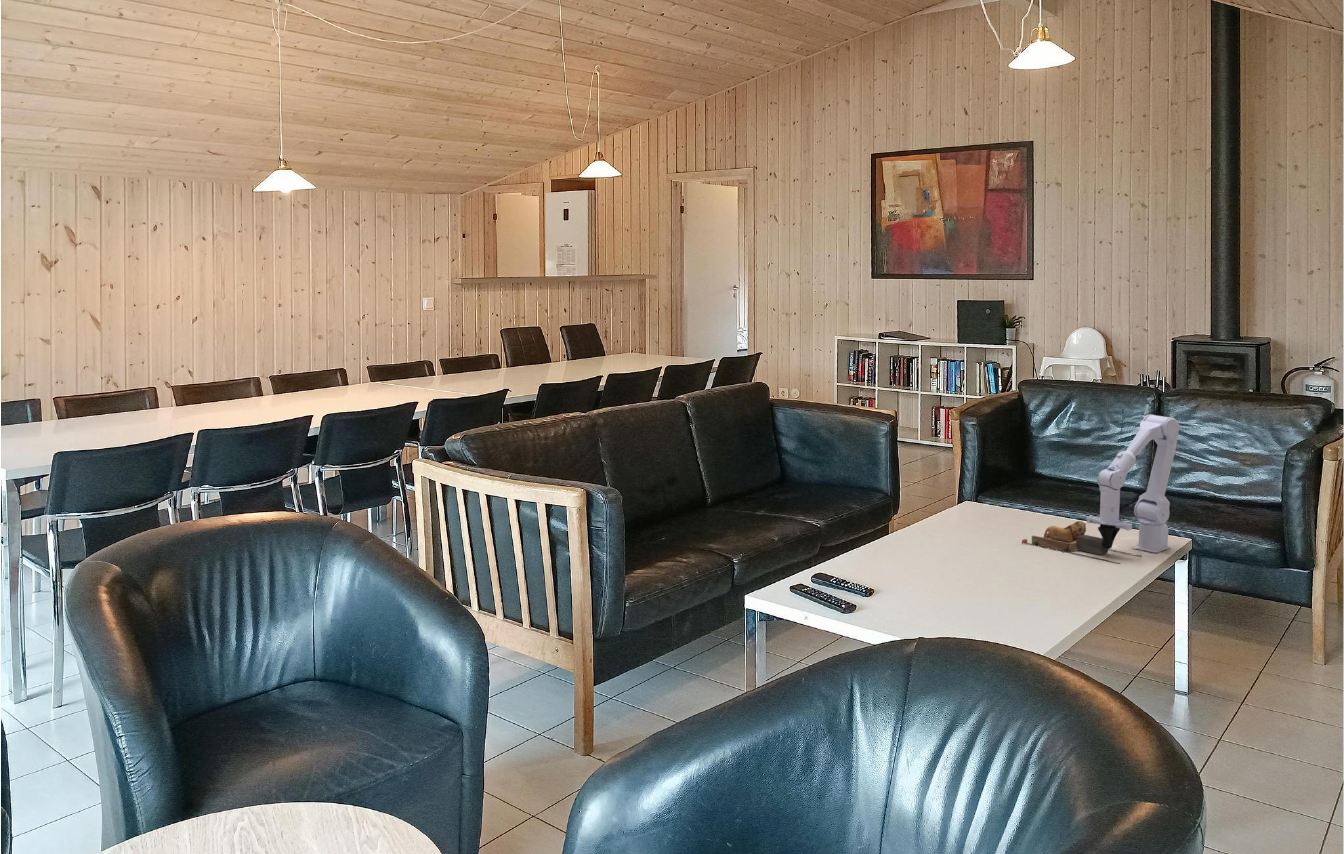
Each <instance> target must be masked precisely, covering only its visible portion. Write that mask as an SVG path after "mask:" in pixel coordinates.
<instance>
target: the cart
mask: <svg viewBox="0 0 1344 854" xmlns="http://www.w3.org/2000/svg"><path fill="white" fill-rule="evenodd" d="M1043 537H1044V536H1043ZM1043 537H1042V536H1039V535H1038V536H1037V535H1032V536H1031V544H1035V545H1040V546H1045V547H1049V548H1054V549H1059V550H1063V551H1068V552H1075V551H1082V552H1086V553H1089V554H1090V553H1091V554H1096V555H1105V554H1108V553H1109V550H1108V549H1106V548H1105V545H1104V541H1103V538H1102V537H1098V536H1093V535H1087V534H1083V535H1080V536H1076V540H1074V542H1071V543H1069V539H1061V538H1059V537H1057V536H1056V535H1055V536H1054V539H1050V538H1049V539H1048V538H1043ZM1057 539H1058V540H1057ZM1066 541H1067V542H1066Z"/></svg>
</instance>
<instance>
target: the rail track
mask: <svg viewBox="0 0 1344 854" xmlns="http://www.w3.org/2000/svg"><path fill="white" fill-rule="evenodd" d="M1047 535H1048V532H1047V534H1046V536H1047ZM1046 536H1045V537H1046ZM1056 540H1057V541H1059V540H1058V539H1056ZM1065 542H1067V541H1065ZM1023 543H1024V544H1025V545H1030V546H1033V547H1038V546H1039V548H1043V549H1047V548H1049V549H1048V550H1053V551H1056V550H1057V551H1058V552H1062V553H1066V554H1070V555H1075V556H1080V557H1084V558H1089V559H1094V560H1099V561H1102V562H1107V563H1113V564H1117V565H1119V564H1121V562H1118V561H1113V560H1110V559H1108V560H1107V559H1104V558H1100V557H1096V556H1091V555H1085V554H1081V553H1077V552H1074V551H1072V552H1068V551H1064V550H1059V549H1055V548H1050V547H1045V546H1041V545H1035V544H1032V542H1031V543H1030V542H1028V539H1026V538H1024V539H1022V540H1021V544H1023ZM1067 543H1068V542H1067ZM1024 544H1023V545H1024ZM1110 550H1111V552H1115V553H1119V552H1121V553H1120V554H1124V555H1129V554H1132V553H1130V552H1127V551H1126V552H1125V551H1121V550H1116V549H1112V548H1110V549H1108V551H1110ZM1138 556H1142V555H1141V554H1140V555H1139V554H1136V556H1135V557H1138Z"/></svg>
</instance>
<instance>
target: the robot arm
mask: <svg viewBox="0 0 1344 854" xmlns="http://www.w3.org/2000/svg"><path fill="white" fill-rule="evenodd" d="M1180 427H1181V425H1180V424H1179V422H1178V420H1177V419H1176V417H1175V418H1174V417H1172V416H1162V415H1155V414H1147V415H1145V416H1144V417H1143V419H1142V420H1141V421H1140V423H1139V430H1138V432H1137V433H1136V435H1135V436H1134V438H1133V439H1132V441H1131V442H1130V444H1129V445H1128V446H1127V447H1126V450H1123V451H1119V452H1118V453H1117V454H1116V456H1115V457H1114V459H1113V460H1112V461H1111V463H1110V464H1109V465H1108V466H1107V468H1104V469H1102V470H1101V471H1100V472H1099V473H1098V476H1097V477H1096V482H1097V484H1098V486H1099V492H1100V500H1099V501H1100V504H1099V516H1091V515H1090V516H1087V517H1086V523H1087V524H1095V525H1099V526H1098V527H1097V530H1098V531H1099V533H1100V535H1101V538H1103V541H1104V545H1105V548H1106V549H1112V548H1113V544H1114V542H1115V538H1116V537H1117V535H1118V533H1119V531H1120V530H1121V529H1122V530H1125V531H1128V532H1129V531H1131V530H1133V523H1131V522H1127V521H1122V520H1120V501H1121V500H1120V499H1121V488H1122V487H1124V485H1125V483H1126V479H1127V475H1128V473H1129V472H1130V470H1132V468H1133V467H1134V465H1135V464H1136V462H1137V459H1136V456H1137V455H1139V454H1140V452H1141V451H1142V450H1143V449H1144V448H1145V447H1146V446H1147V445H1148V444H1149V443H1150V442H1151V441H1153V440H1154V442H1155V443H1156V444H1157V447H1156V449H1155V455H1154V459H1153V463H1152V468H1151V471H1150V475H1149V479H1148V484H1147V488H1146V491H1145V492H1144V493H1142V494H1140V495H1139V496H1138V500H1137V502H1136V503H1135V505H1134V508H1133V509H1134V510H1133V513H1134V516H1135V517H1136V518H1137V522H1139V524H1138V525H1139V526H1138V542H1137V543H1138V544H1137V545H1135V546H1132V549H1134V548H1135V549H1134V550H1138V549H1139V551H1143V550H1145V552H1149V553H1154V554H1157V553H1159V552H1163V551H1165V550H1166V551H1167V550H1169V549H1171V546H1168V544H1169V541H1168V540H1169V527H1168V525H1167V523H1166V522H1167V521H1169V518H1170V514H1171V513H1170V512H1171V511H1170V505H1171V503H1170V501H1169V500H1168V498H1167V496H1165V495H1166V491H1167V486H1168V484H1169V483H1168V482H1169V478H1170V474H1171V470H1172V465H1173V461H1174V457H1175V455H1176V454H1175V452H1176V449H1177V445H1178V436H1179V431H1180Z"/></svg>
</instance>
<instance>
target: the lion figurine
mask: <svg viewBox="0 0 1344 854" xmlns="http://www.w3.org/2000/svg"><path fill="white" fill-rule="evenodd" d="M1086 523H1087V522H1084V521H1082V520H1077V521H1075V522H1073V523H1072V524H1069V525H1068V526H1066V527H1059V526H1057V525H1050V526H1048V527H1047V528H1046V530H1045V532H1044V533H1043V538H1048V539H1053V540H1055V539H1054V536H1055V535H1056V536H1057V537H1059V538H1061V539H1069V542H1068V543H1071V542H1074V540H1076V536H1080V535H1083V534H1084V535H1086V532H1087V527H1086ZM1047 533H1048V535H1047V536H1046V534H1047ZM1045 536H1046V537H1045Z"/></svg>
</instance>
